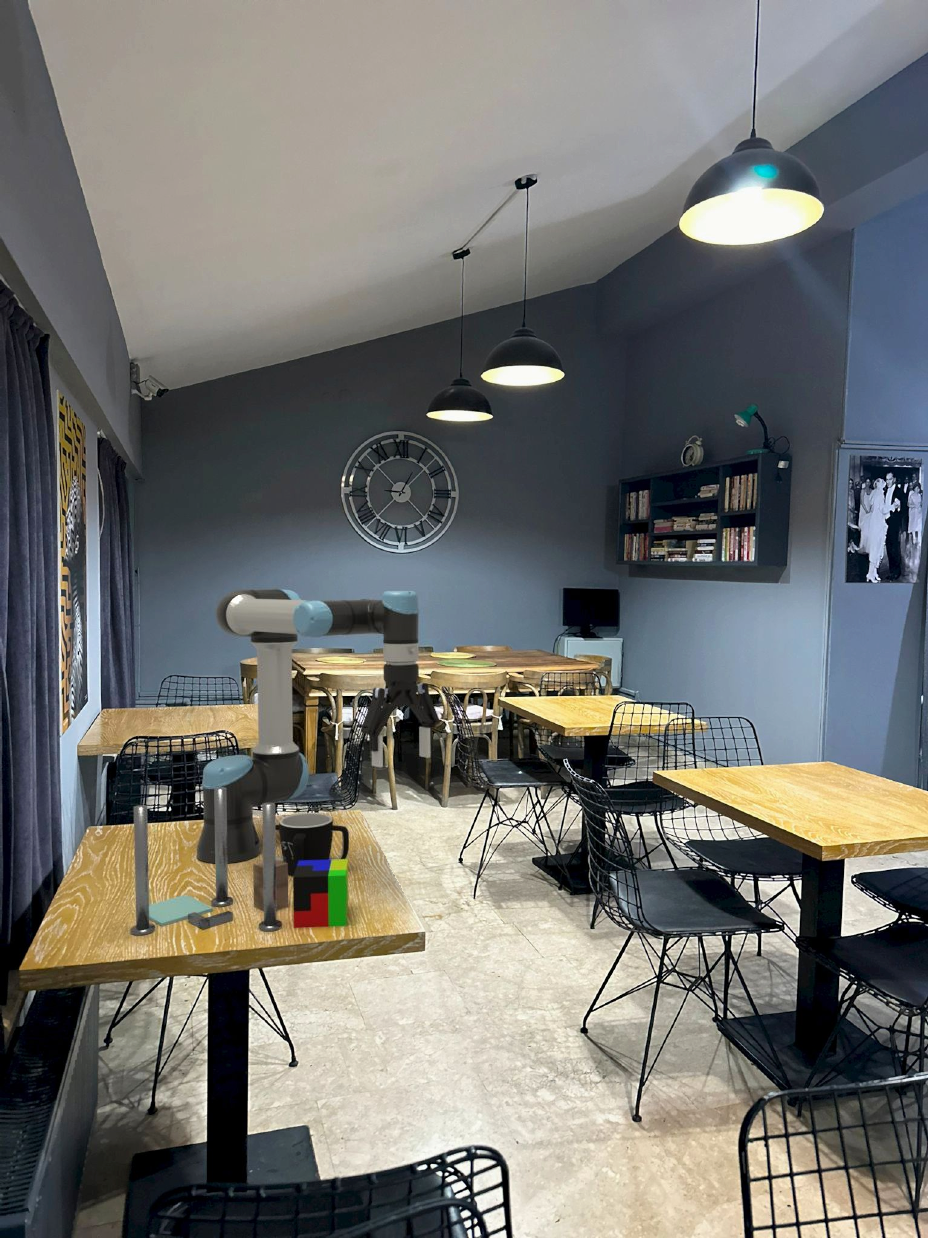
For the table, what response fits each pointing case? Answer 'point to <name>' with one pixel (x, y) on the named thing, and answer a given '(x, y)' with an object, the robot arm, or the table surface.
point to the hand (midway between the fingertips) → (401, 761)
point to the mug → (308, 838)
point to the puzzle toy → (320, 893)
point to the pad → (176, 909)
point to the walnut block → (280, 885)
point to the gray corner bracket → (209, 919)
